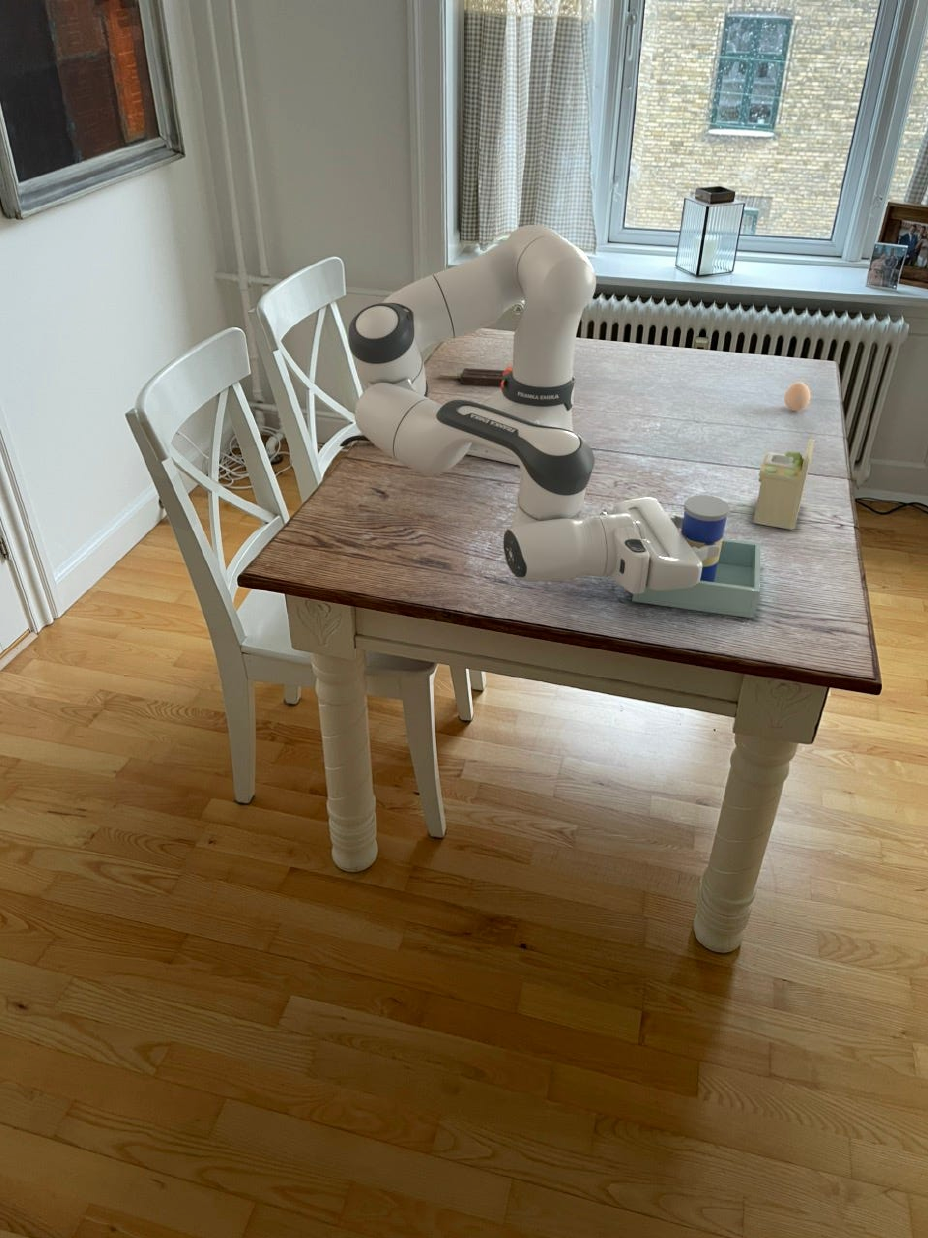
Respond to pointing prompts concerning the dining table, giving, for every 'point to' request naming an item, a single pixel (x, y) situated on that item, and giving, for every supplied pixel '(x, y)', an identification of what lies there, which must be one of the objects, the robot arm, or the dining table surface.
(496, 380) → the ice cream bar
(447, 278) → the robot arm
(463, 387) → the dining table surface
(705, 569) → the snack tube
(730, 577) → the green tray
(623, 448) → the dining table surface
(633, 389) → the dining table surface
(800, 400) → the egg
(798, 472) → the toy sink
